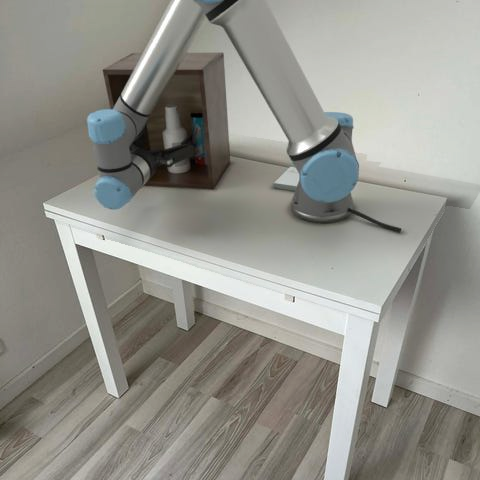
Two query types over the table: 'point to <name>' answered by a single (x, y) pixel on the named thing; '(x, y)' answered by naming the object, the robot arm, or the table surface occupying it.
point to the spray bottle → (174, 137)
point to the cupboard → (184, 115)
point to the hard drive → (287, 180)
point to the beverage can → (199, 138)
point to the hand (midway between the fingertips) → (167, 138)
